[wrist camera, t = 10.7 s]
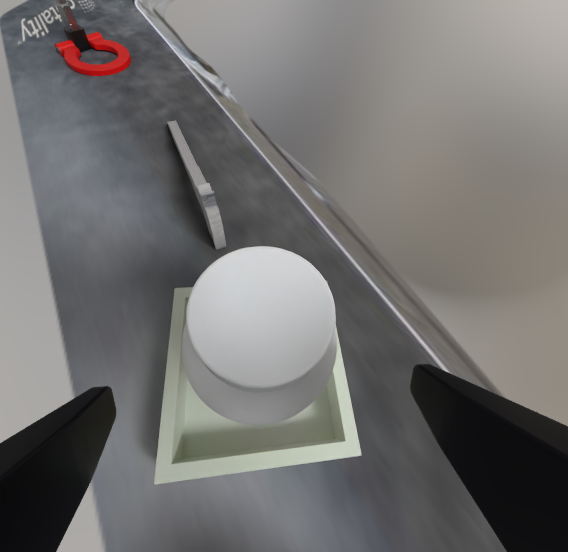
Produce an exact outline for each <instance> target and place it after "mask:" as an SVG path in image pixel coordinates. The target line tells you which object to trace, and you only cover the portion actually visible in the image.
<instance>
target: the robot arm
mask: <svg viewBox="0 0 568 552" xmlns="http://www.w3.org/2000/svg"><path fill="white" fill-rule="evenodd" d="M410 390H411V393H412V396H413V398H414V399H415V401H416V403H417V405H418V407H419V409H420V411H421V413H422V415H423V417H424V419H425V420H426V422H427V424H428V426H429V428H430V430H431V432H432V434H433V436H434V437H435V439H436V441H437V443H438V444H439V446H440V448H441V449H442V451H443V452H444V454H445V456H446V457H447V459H448V460H449V462H450V463H451V465H452V467H453V468H454V470H455V471H456V473H457V474H458V476H459V477H460V479H461V481H462V482H463V484H464V485H465V487H466V488H467V490H468V492H469V493H470V495H471V496H472V498H473V499H474V501H475V503H476V504H477V506H478V507H479V509H480V510H481V512H482V513H483V515H484V517H485V518H486V520H487V521H488V523H489V524H490V526H491V528H492V529H493V531H494V532H495V534H496V535H497V537H498V539H499V540H500V542H501V543H502V545H503V546H504V548H505V549H506V551H507V552H568V426H566V425H564V424H561V423H559V422H557V421H555V420H553V419H550V418H548V417H546V416H544V415H541V414H539V413H537V412H535V411H532V410H530V409H528V408H526V407H524V406H521V405H519V404H517V403H515V402H512V401H510V400H508V399H506V398H504V397H501V396H499V395H497V394H495V393H492V392H490V391H488V390H486V389H484V388H481V387H479V386H477V385H475V384H472V383H470V382H468V381H466V380H463V379H461V378H459V377H457V376H455V375H452V374H450V373H448V372H446V371H443V370H441V369H439V368H437V367H435V366H432V365H430V364H417V365H415V366H414V368H413V373H412V379H411V384H410ZM115 418H116V407H115V402H114V397H113V392H112V389H111V388H110V387H108V386H103V387H93V388H91V389H89V390H87V391H86V392H84V393H83V394H81V395H79V396H78V397H76V398H74V399H73V400H71V401H69V402H68V403H66V404H64V405H63V406H61V407H60V408H58V409H56V410H54V411H53V412H51V413H49V414H48V415H46V416H45V417H43V418H41V419H40V420H38V421H36V422H35V423H33V424H31V425H30V426H28V427H26V428H25V429H23V430H22V431H20V432H18V433H16V434H15V435H13V436H11V437H10V438H8V439H7V440H5V441H3V442H2V443H0V552H56V551H57V549H58V547H59V545H60V543H61V541H62V539H63V537H64V535H65V533H66V531H67V528H68V527H69V525H70V523H71V521H72V518H73V517H74V514H75V512H76V510H77V508H78V506H79V504H80V502H81V500H82V498H83V496H84V494H85V492H86V490H87V488H88V486H89V484H90V482H91V479H92V477H93V475H94V472H95V470H96V467H97V465H98V462H99V459H100V457H101V454H102V452H103V449H104V447H105V444H106V441H107V439H108V436H109V434H110V431H111V429H112V426H113V423H114V421H115Z"/></svg>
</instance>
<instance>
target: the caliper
mask: <svg viewBox="0 0 568 552" xmlns="http://www.w3.org/2000/svg"><path fill="white" fill-rule="evenodd" d="M168 126H169V129H170V132H171V134H172V137H173V139H174V142H175V144H176V147H177V149H178V151H179V154H180V156H181V158H182V161H183V163H184V166H185V168H186V170H187V173H188V175H189V177H190V180H191V182H192V185H193V188H194V191H195V194H196V196H197V198H198V201H199V203H200V205H201V207H202V210H203V213H204V216H205V220H206V223H207V226H208V229H209V233H210V235H211V238H213V241H214V245H215V248H216V250H217V249H220V248H224V247H226V241H225V236H224V230H223V225H222V221H221V217H220V213H219V209H218V206H217V204H216V200H215V196H214V192H213V191H212V190H211V187H210V183H206V181H205V179H204V177H203V175H202V173H201V171H200V169H199V166H197V164H196V162H195V160H194V158H193V156H192V154H191V152H190V149H189V147H188V145H187V143H186V141H185V139H184V137H183V135H182V133H181V131H180V128H179V126H178V124H177V122H176V121H170V122H168Z"/></svg>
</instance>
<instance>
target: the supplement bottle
mask: <svg viewBox="0 0 568 552" xmlns="http://www.w3.org/2000/svg"><path fill="white" fill-rule="evenodd" d="M335 320H336V316H335V305H334V300H333V296H332V294H331V291H330V289H329V286H328V284H327V283H326V281H325V279H324V278H323V276H322V275H321V274H320V273H319V272H318V270H317V269H316V268H315V267H314V266H313V265H312V264H310V263H309V262H308V261H307V260H305V259H303V258H302V257H300V256H299V255H297V254H294V253H292V252H290V251H287V250H284V249H280V248H276V247H268V246H258V247H248V248H243V249H239V250H236V251H233V252H231V253H228V254H226V255H224V256H222V257H221V258H219V259H218V260H216V261H215V262H213V263H212V264H211V265H210V266H209V267H208V268H207V269H206V270H205V271H204V272H203V273H202V274H201V276H200V277H199V278H198V280H197V281H196V283H195V285H194V287H193V288H192V291H191V293H190V296H189V300H188V304H187V309H186V324H185V327H184V331H183V336H182V346H181V348H182V360H183V365H184V369H185V373H186V376H187V378H188V380H189V382H190V384H191V386H192V388H193V390H194V391H195V393H196V394H197V395H198V397H199V398H200V399H201V400H202V401H203V402H204V403H205V404H206V405H207V406H208V407H209V408H210V409H212V410H213V411H215V412H216V413H218V414H219V415H221V416H223V417H225V418H227V419H230V420H233V421H236V422H239V423H245V424H253V425H263V424H272V423H277V422H280V421H283V420H286V419H288V418H291V417H293V416H295V415H296V414H298V413H300V412H301V411H303V410H304V409H305V408H307V407H308V406H309V405H310V404H311V403H312V402H313V401H314V400H315V399H316V398H317V397H318V396H319V395H320V393H321V392H322V390H323V389H324V388H325V386H326V384H327V382H328V381H329V379H330V376H331V373H332V371H333V368H334V365H335V360H336V354H337V335H336V329H335Z"/></svg>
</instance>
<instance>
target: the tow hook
mask: <svg viewBox="0 0 568 552" xmlns="http://www.w3.org/2000/svg"><path fill="white" fill-rule="evenodd" d="M55 1H56V6H57V9H58V11H59V13H60V15H61V17H62V19H63V21H64V23H65V25H66V27H64V28H63V29H64V31H65V33H66V35H67V37H68V39H69V40H68V41H64V42H61V43H57V44H55V47H56V49H57V51H58V52H59V54H60V55H61V56H62V57H63V56H64V58H65V60H66V62H67V64H68V65H69V67H70V68H71V69H73V70H74V71H76V72H79V73H81V74H85V75H90V76H104V75H111V74H115V73H118V72H120V71H123V70H124V69H126V68H127V67H128V66H129V65H130V62H131V58H130V55H129V52H128V50H127V49H126V48H125V47H124V46H122V45H121V44H119V43H116V42H113V41H109V40H104V39H103V38H102V36H101V34H100V33H99V32H96V33H92V34H89V35H86V33H85V31H84V29H83V28H82V27H81V26H79V25H78V24H77V21H76V19H75V17H74V15H73V12H72V10H71V8H70V6H69V3H68V2H66V0H55ZM92 47H93V48H94V49H96V50H107V51H111V52H114V53H116V54H117V55H118V58H117V59H116V60H114V61H113V62H110V63H107V64H102V65H92V64H86V63H83V62H81V61H80V60H78V59H79V57H80V56H81V53H80V52H83V51H86V50H89V49H91V48H92Z"/></svg>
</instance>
